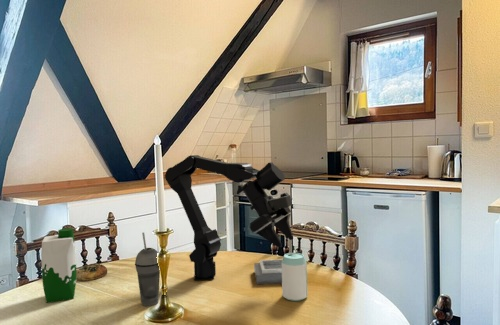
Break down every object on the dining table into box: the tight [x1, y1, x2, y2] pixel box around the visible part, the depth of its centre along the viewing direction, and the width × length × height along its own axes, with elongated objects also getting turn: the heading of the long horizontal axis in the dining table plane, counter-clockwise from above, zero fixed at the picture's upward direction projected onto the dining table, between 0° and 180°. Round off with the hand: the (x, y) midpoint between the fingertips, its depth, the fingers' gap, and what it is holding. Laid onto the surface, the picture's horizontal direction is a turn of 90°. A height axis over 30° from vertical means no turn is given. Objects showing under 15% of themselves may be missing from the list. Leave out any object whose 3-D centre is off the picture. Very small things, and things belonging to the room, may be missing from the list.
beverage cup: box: [134, 232, 161, 307], centre depth 104 cm, size 7×7×20 cm
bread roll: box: [76, 263, 108, 282], centre depth 128 cm, size 11×11×5 cm
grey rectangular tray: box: [253, 258, 283, 285], centre depth 122 cm, size 14×12×4 cm
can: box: [281, 252, 308, 302], centre depth 105 cm, size 7×7×12 cm
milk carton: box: [40, 227, 78, 304], centre depth 110 cm, size 9×9×20 cm
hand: (286, 242), depth 110 cm, fingers open, 9 cm apart
